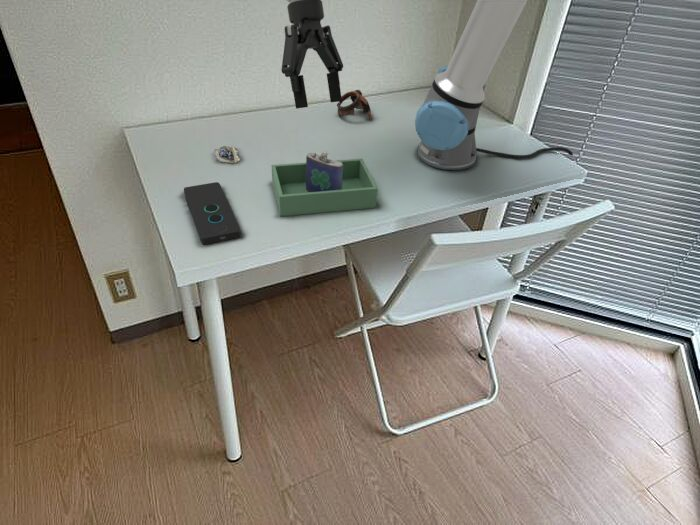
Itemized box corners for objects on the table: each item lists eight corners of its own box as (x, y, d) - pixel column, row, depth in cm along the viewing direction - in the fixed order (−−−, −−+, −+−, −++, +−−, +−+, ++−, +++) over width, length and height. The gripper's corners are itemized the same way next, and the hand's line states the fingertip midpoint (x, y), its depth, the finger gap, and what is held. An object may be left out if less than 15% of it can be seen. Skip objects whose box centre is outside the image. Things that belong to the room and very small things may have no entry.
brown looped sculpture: (373, 125, 148) (361, 103, 143) (343, 135, 152) (331, 114, 146) (375, 99, 155) (364, 77, 150) (347, 109, 159) (335, 88, 153)
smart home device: (200, 238, 100) (182, 187, 114) (201, 245, 101) (183, 193, 115) (241, 230, 103) (219, 181, 117) (242, 237, 104) (220, 187, 118)
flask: (343, 197, 117) (345, 155, 110) (337, 203, 115) (338, 160, 108) (309, 185, 120) (309, 143, 113) (302, 191, 118) (302, 149, 111)
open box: (360, 176, 125) (362, 158, 122) (376, 207, 115) (378, 188, 112) (272, 183, 121) (271, 164, 117) (280, 216, 111) (279, 196, 107)
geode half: (231, 146, 133) (231, 139, 132) (248, 158, 129) (248, 151, 128) (208, 153, 130) (207, 146, 129) (225, 166, 125) (224, 159, 124)
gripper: (323, 7, 121) (336, 101, 127) (251, 1, 101) (271, 112, 108) (349, 0, 117) (361, 97, 123) (280, -7, 97) (299, 108, 104)
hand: (319, 104), depth 116 cm, fingers open, 13 cm apart
